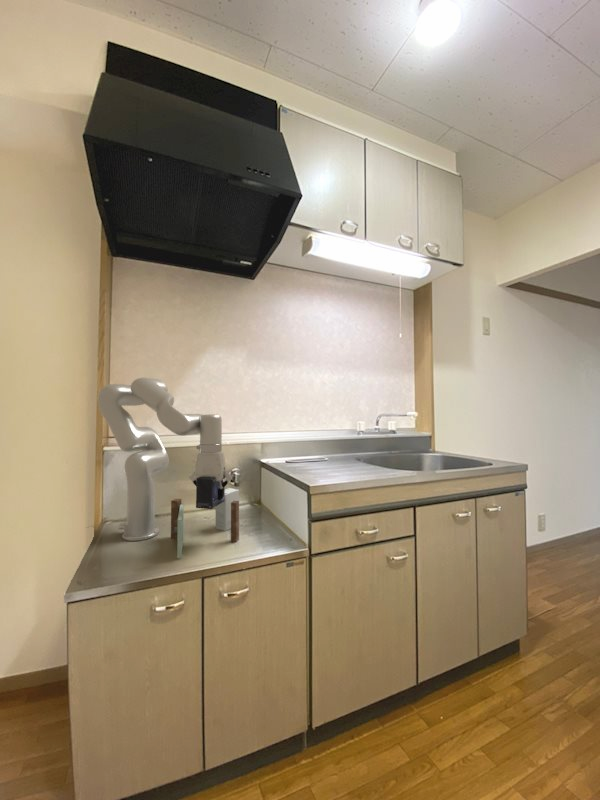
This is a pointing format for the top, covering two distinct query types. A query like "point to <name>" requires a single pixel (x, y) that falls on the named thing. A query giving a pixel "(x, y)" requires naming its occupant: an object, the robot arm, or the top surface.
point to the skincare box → (226, 509)
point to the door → (180, 530)
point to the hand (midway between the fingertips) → (210, 498)
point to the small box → (207, 493)
